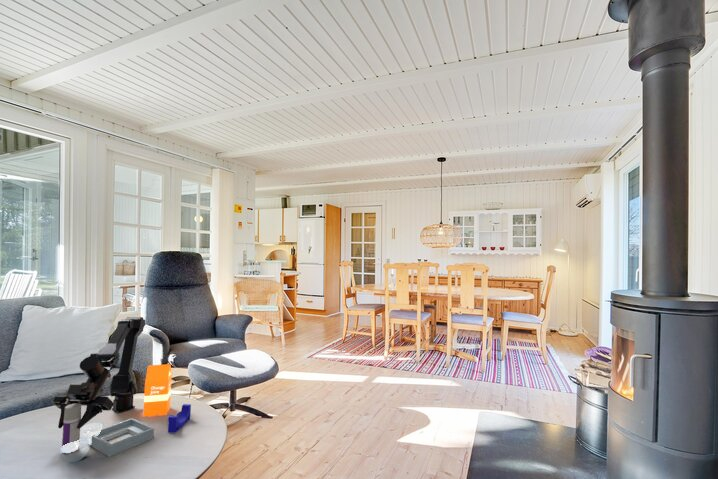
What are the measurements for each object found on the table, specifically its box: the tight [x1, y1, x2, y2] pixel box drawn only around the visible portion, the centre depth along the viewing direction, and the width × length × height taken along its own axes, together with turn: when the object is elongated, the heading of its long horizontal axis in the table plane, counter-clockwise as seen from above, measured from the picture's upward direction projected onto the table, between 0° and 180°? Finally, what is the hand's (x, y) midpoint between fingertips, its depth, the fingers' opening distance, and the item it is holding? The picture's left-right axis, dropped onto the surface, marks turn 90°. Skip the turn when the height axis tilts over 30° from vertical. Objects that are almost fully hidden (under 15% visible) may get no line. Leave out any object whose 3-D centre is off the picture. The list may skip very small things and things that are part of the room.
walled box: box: [91, 417, 155, 457], centre depth 130 cm, size 15×15×4 cm
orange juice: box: [142, 363, 173, 418], centre depth 154 cm, size 8×9×20 cm
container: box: [61, 403, 82, 447], centre depth 123 cm, size 5×5×15 cm
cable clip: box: [167, 403, 192, 434], centre depth 143 cm, size 12×4×6 cm, turn 0°
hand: (68, 428), depth 122 cm, fingers open, 6 cm apart
